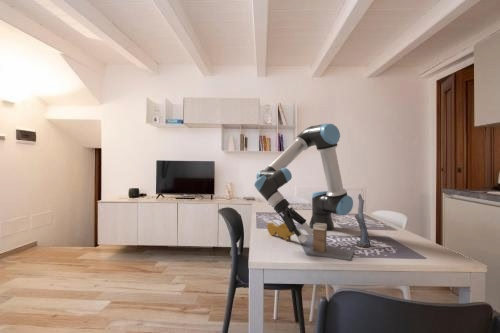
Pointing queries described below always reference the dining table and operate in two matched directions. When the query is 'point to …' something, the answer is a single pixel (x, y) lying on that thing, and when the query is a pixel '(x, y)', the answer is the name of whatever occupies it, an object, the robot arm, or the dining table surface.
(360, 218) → the antler
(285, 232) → the decorative fish
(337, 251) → the charcoal rubber mat
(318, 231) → the walnut block
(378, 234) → the dining table surface
